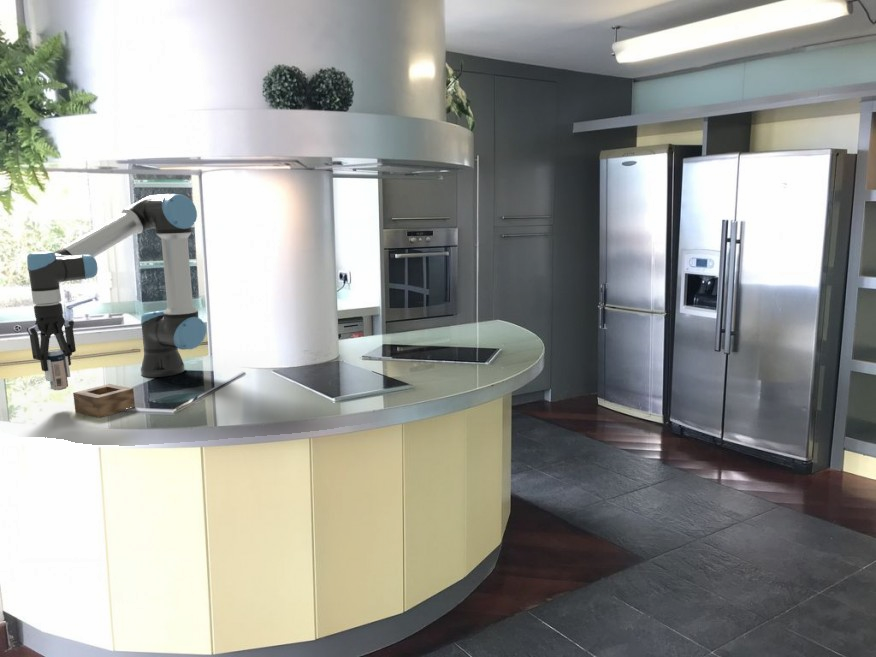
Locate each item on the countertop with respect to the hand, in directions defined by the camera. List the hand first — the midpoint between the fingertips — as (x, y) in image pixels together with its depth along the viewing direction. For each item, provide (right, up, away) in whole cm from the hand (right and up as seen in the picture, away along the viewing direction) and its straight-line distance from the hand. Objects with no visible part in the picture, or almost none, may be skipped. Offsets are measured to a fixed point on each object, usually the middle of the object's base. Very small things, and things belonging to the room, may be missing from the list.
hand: (58, 378), depth 221 cm
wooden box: (+15, -10, -1) cm, 18 cm away
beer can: (0, -3, +1) cm, 4 cm away
